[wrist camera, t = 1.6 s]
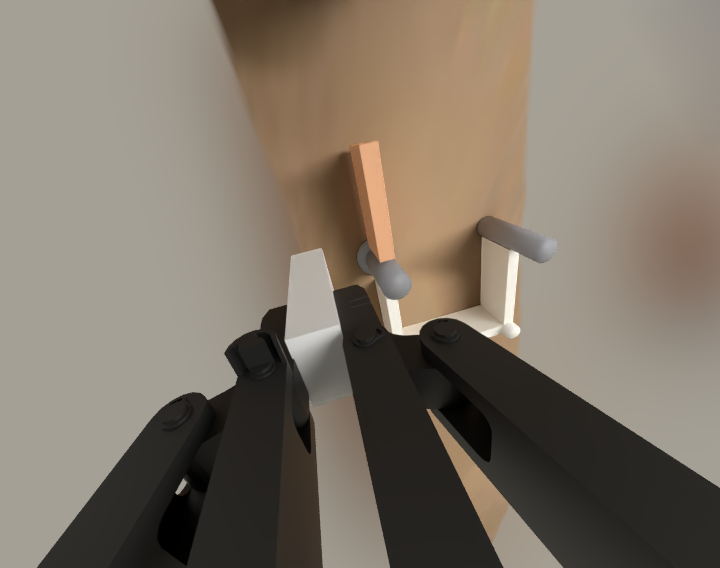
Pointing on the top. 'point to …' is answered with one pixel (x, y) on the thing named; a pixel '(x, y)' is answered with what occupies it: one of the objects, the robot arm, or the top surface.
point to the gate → (377, 221)
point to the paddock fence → (482, 279)
